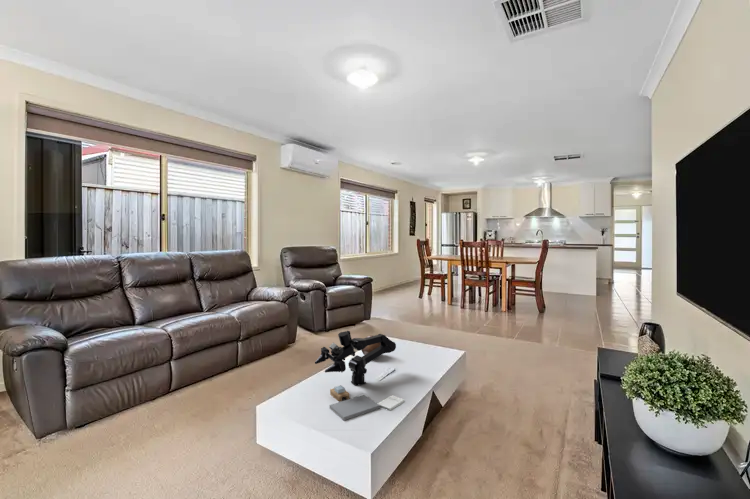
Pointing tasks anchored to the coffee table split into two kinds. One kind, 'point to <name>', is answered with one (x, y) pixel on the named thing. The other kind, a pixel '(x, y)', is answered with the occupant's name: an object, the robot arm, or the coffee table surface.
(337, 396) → the board
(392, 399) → the external hard drive
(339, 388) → the pale blue square block
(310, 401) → the coffee table surface
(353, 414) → the slate dock
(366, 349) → the wooden sphere
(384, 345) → the robot arm
